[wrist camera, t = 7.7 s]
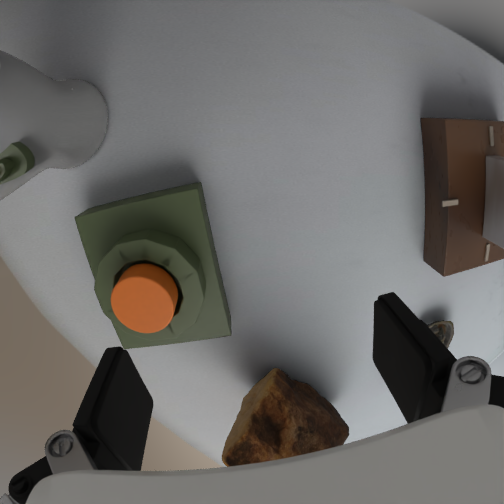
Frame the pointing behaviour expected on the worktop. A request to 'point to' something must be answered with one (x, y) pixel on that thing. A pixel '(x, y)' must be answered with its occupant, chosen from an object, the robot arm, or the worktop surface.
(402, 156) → the worktop surface
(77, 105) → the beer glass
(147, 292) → the button
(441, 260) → the block
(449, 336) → the corroded twin loop
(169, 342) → the button box
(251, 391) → the decorative rock
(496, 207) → the tap handle
